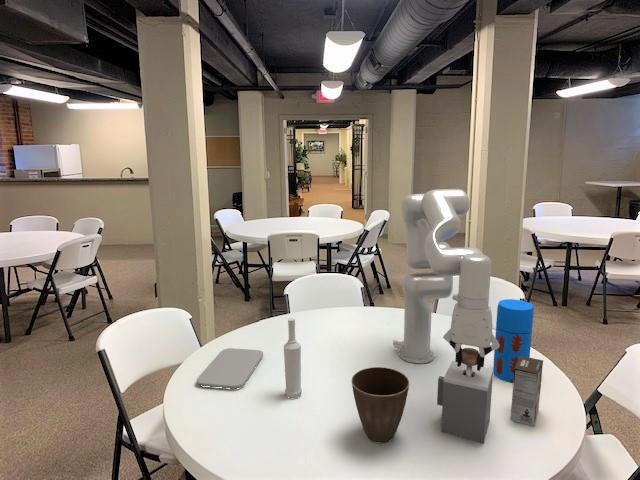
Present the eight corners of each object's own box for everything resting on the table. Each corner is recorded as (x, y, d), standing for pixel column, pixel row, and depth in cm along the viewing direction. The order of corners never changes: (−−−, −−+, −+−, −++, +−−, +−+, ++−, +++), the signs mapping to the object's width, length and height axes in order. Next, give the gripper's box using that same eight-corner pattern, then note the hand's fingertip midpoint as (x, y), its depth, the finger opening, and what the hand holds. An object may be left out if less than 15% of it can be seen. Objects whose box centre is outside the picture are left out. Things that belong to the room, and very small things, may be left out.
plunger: (449, 418, 123) (452, 354, 119) (455, 404, 130) (458, 343, 126) (478, 426, 119) (483, 360, 116) (483, 411, 126) (487, 348, 122)
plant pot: (368, 459, 113) (369, 401, 109) (342, 426, 126) (342, 373, 123) (418, 443, 118) (420, 387, 115) (388, 413, 132) (389, 362, 129)
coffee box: (515, 404, 136) (519, 354, 132) (539, 410, 132) (543, 359, 129) (509, 420, 128) (513, 367, 125) (534, 427, 125) (539, 373, 121)
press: (432, 429, 124) (434, 376, 121) (441, 409, 134) (443, 358, 130) (483, 444, 118) (487, 387, 115) (489, 421, 127) (493, 368, 124)
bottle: (304, 392, 144) (302, 317, 139) (298, 400, 139) (296, 323, 134) (289, 389, 146) (286, 315, 141) (282, 397, 141) (280, 321, 136)
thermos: (531, 384, 147) (537, 311, 141) (496, 381, 149) (501, 309, 144) (523, 368, 157) (529, 299, 152) (490, 366, 159) (495, 298, 154)
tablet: (194, 388, 148) (193, 382, 147) (224, 353, 173) (224, 347, 172) (241, 393, 145) (241, 386, 144) (265, 356, 170) (265, 350, 169)
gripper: (437, 301, 118) (434, 366, 122) (506, 311, 111) (501, 379, 114) (443, 293, 125) (440, 354, 129) (509, 301, 117) (504, 367, 121)
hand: (469, 365), depth 122 cm, fingers closed on plunger, 4 cm apart
